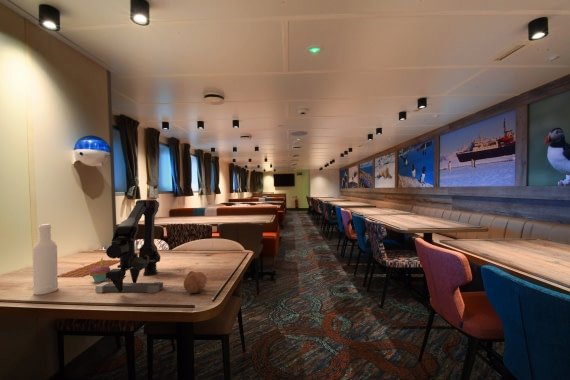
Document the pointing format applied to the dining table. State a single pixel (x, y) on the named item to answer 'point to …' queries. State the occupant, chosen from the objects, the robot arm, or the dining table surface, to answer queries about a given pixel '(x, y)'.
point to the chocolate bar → (88, 269)
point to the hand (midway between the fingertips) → (127, 287)
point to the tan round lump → (194, 282)
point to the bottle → (45, 262)
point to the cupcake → (99, 272)
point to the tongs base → (128, 288)
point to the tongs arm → (147, 283)
